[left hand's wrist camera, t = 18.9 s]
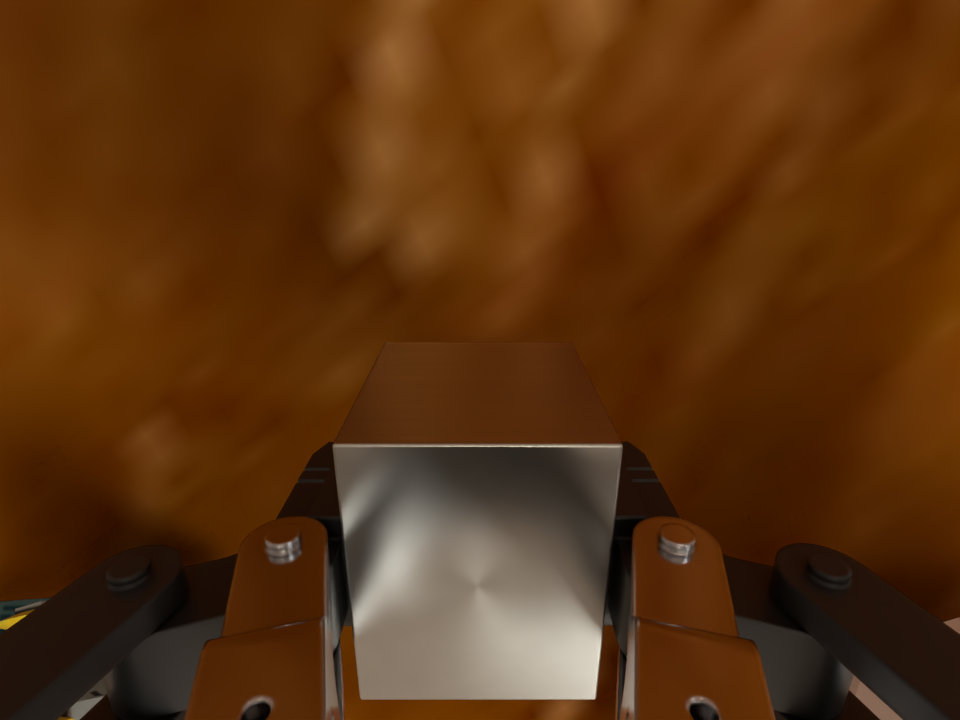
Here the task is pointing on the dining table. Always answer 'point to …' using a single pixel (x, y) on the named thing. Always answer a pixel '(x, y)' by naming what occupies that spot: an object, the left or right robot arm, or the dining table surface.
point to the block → (477, 522)
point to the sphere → (876, 704)
